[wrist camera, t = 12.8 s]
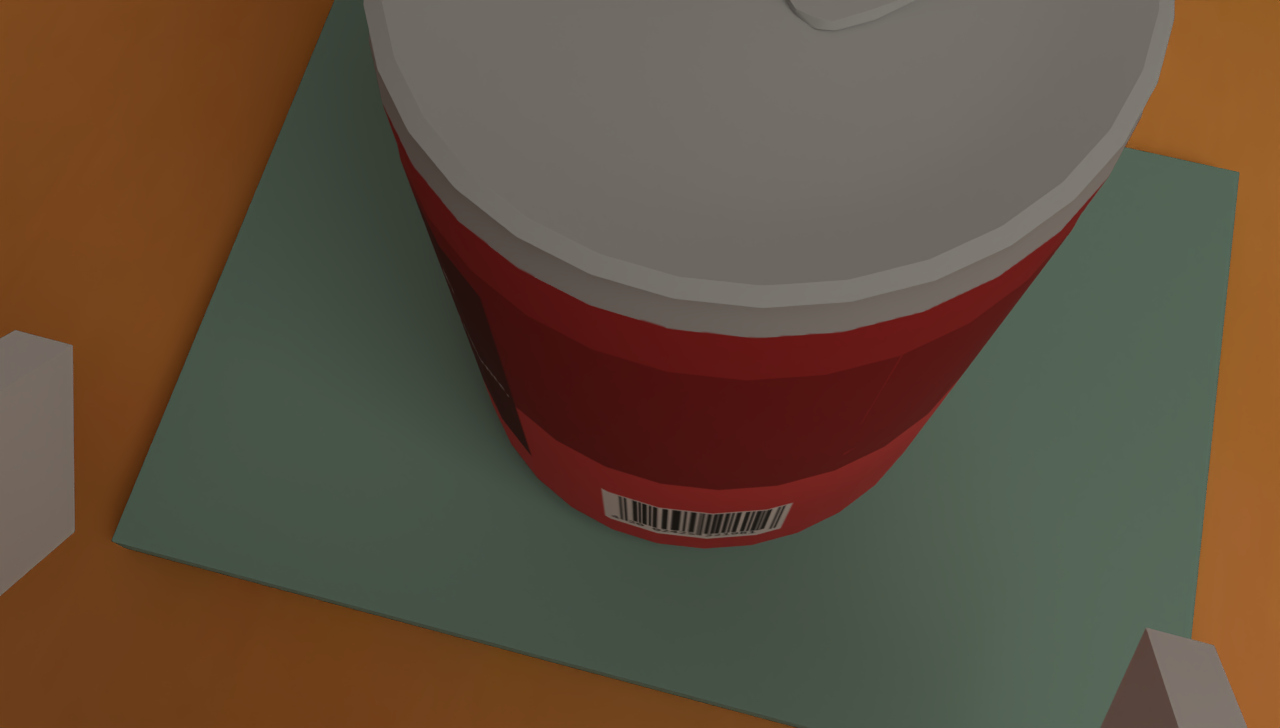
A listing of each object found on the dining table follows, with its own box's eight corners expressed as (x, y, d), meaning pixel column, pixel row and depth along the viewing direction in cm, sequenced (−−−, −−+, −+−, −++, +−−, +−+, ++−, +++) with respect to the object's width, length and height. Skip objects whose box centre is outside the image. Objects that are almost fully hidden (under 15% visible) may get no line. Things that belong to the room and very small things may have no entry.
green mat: (1225, 187, 24) (1239, 172, 23) (1157, 823, 20) (1171, 824, 19) (351, -6, 25) (344, -24, 25) (125, 548, 21) (111, 540, 21)
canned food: (1017, 388, 22) (1358, 6, 11) (656, 657, 20) (673, 496, 10) (753, 88, 24) (840, -461, 14) (407, 310, 22) (207, -122, 12)
